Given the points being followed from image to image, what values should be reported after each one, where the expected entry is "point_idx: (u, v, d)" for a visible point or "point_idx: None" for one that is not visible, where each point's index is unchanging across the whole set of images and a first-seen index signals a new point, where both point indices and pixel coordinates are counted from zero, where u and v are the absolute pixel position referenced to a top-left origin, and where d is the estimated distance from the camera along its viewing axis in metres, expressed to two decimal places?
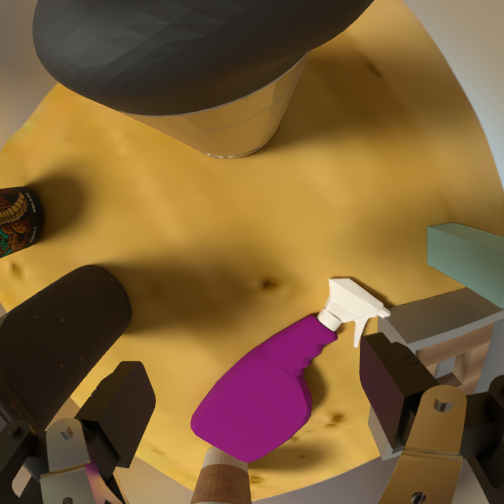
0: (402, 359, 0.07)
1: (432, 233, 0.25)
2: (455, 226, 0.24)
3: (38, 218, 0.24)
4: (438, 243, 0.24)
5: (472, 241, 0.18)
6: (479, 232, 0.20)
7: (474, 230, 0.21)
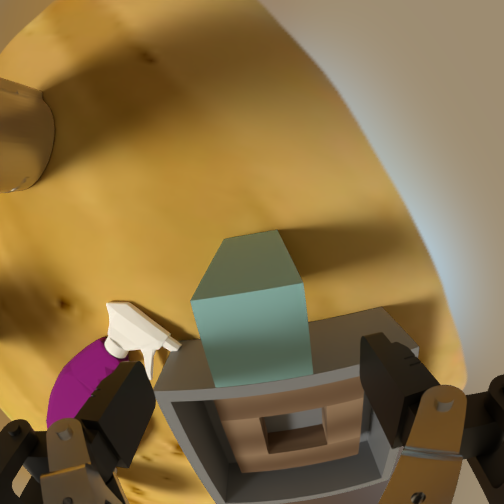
0: (402, 359, 0.07)
1: None
2: (260, 236, 0.20)
3: None
4: None
5: (212, 264, 0.15)
6: (268, 246, 0.17)
7: (270, 242, 0.17)
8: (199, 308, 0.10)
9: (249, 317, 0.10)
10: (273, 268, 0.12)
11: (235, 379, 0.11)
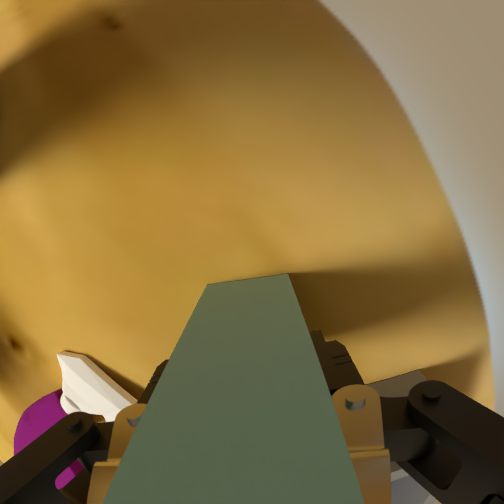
0: (329, 357, 0.08)
1: None
2: (262, 288, 0.13)
3: None
4: None
5: (170, 367, 0.07)
6: (276, 322, 0.09)
7: (278, 310, 0.10)
8: None
9: None
10: (290, 423, 0.05)
11: None
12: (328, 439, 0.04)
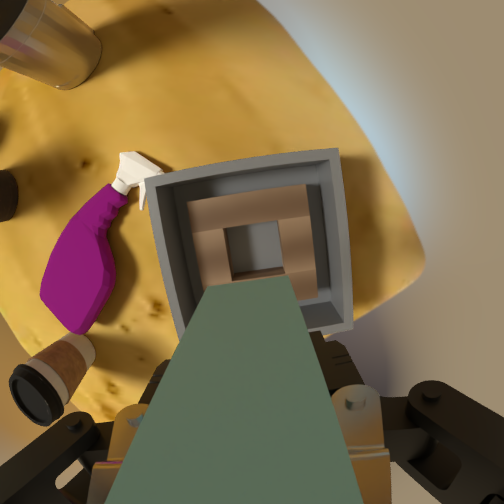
0: (329, 357, 0.08)
1: None
2: (262, 290, 0.13)
3: None
4: None
5: (171, 369, 0.07)
6: (276, 324, 0.09)
7: (278, 312, 0.10)
8: None
9: None
10: (290, 426, 0.05)
11: None
12: (328, 442, 0.04)
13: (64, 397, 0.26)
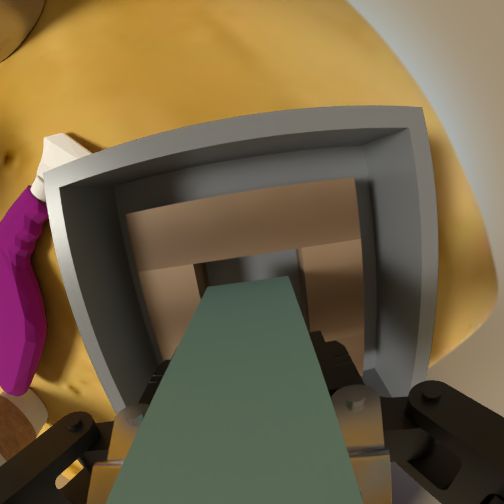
0: (329, 357, 0.08)
1: None
2: (263, 290, 0.13)
3: None
4: None
5: (171, 370, 0.07)
6: (276, 325, 0.09)
7: (278, 313, 0.10)
8: None
9: None
10: (290, 427, 0.05)
11: None
12: (328, 443, 0.04)
13: None
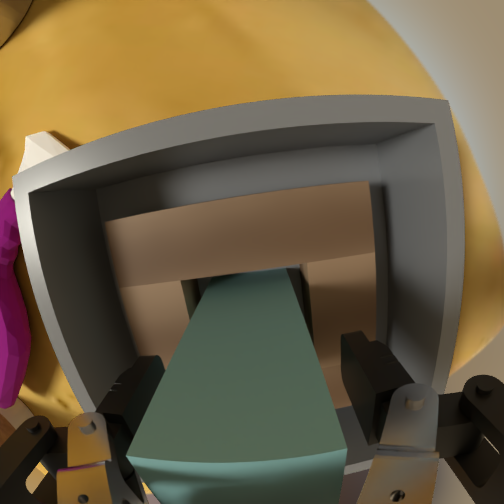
0: (378, 357, 0.07)
1: None
2: (262, 280, 0.14)
3: None
4: None
5: (183, 343, 0.09)
6: (274, 307, 0.10)
7: (276, 297, 0.11)
8: (144, 467, 0.04)
9: (236, 487, 0.04)
10: (285, 381, 0.06)
11: None
12: (316, 393, 0.05)
13: None
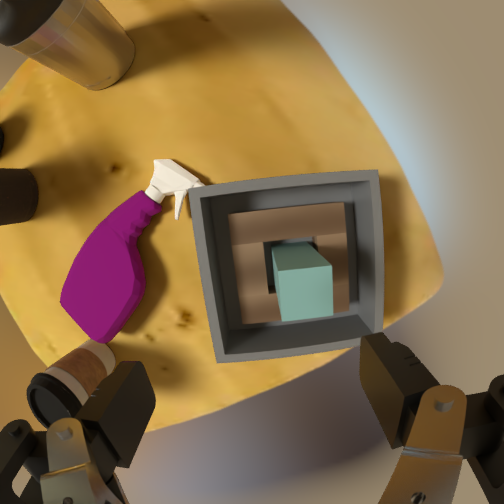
0: (402, 359, 0.07)
1: (271, 250, 0.32)
2: (296, 244, 0.31)
3: None
4: (272, 259, 0.31)
5: (276, 257, 0.26)
6: (305, 250, 0.27)
7: (305, 248, 0.28)
8: (282, 275, 0.21)
9: (305, 280, 0.21)
10: (314, 260, 0.23)
11: (293, 316, 0.22)
12: (323, 260, 0.22)
13: None
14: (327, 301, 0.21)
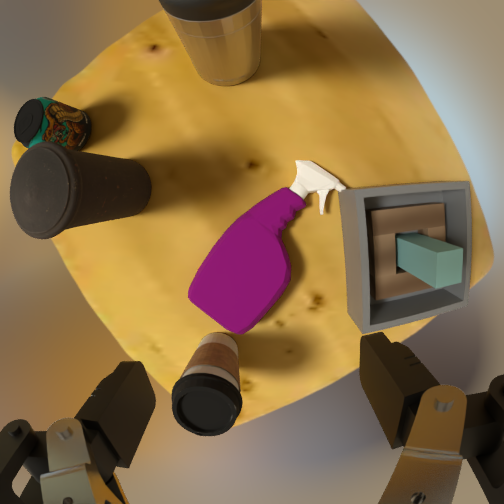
0: (402, 359, 0.07)
1: None
2: (412, 234, 0.36)
3: (88, 128, 0.35)
4: (397, 247, 0.36)
5: (417, 244, 0.30)
6: (427, 238, 0.32)
7: (424, 237, 0.33)
8: (439, 255, 0.26)
9: (450, 259, 0.26)
10: (446, 245, 0.28)
11: (442, 284, 0.27)
12: (453, 245, 0.27)
13: None
14: (459, 272, 0.26)
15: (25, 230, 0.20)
